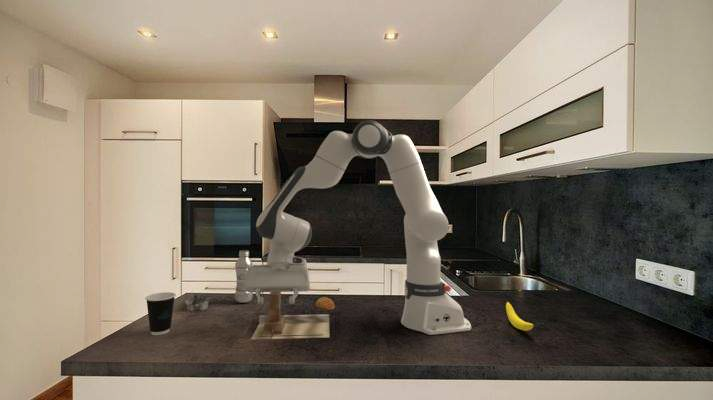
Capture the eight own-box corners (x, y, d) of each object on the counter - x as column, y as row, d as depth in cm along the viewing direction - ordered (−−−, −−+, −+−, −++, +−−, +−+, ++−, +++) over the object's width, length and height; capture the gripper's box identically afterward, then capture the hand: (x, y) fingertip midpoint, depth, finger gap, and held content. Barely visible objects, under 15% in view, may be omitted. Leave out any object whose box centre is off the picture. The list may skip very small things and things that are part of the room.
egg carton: (206, 310, 121) (206, 299, 121) (183, 312, 119) (184, 301, 119) (211, 301, 132) (211, 291, 132) (190, 303, 130) (190, 292, 130)
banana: (527, 341, 99) (528, 319, 99) (502, 318, 118) (502, 300, 118) (537, 341, 98) (538, 320, 98) (510, 318, 117) (511, 300, 117)
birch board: (329, 325, 109) (329, 314, 109) (329, 342, 96) (329, 330, 96) (259, 326, 107) (259, 315, 107) (250, 344, 94) (251, 332, 94)
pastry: (339, 313, 121) (339, 302, 121) (321, 315, 118) (321, 305, 118) (330, 305, 129) (330, 295, 129) (313, 307, 127) (313, 297, 126)
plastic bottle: (247, 305, 127) (247, 252, 127) (231, 303, 128) (231, 252, 128) (255, 300, 133) (256, 250, 133) (240, 298, 135) (240, 249, 135)
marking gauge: (284, 324, 104) (284, 289, 104) (281, 335, 97) (281, 297, 97) (268, 325, 104) (268, 290, 104) (263, 335, 96) (264, 297, 96)
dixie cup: (155, 326, 105) (155, 291, 105) (180, 327, 105) (180, 292, 105) (138, 337, 97) (139, 299, 97) (165, 337, 97) (166, 300, 97)
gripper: (246, 259, 108) (239, 298, 99) (310, 259, 110) (308, 297, 101) (249, 270, 113) (242, 308, 103) (310, 269, 115) (309, 307, 105)
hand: (275, 303), depth 102 cm, fingers open, 8 cm apart
